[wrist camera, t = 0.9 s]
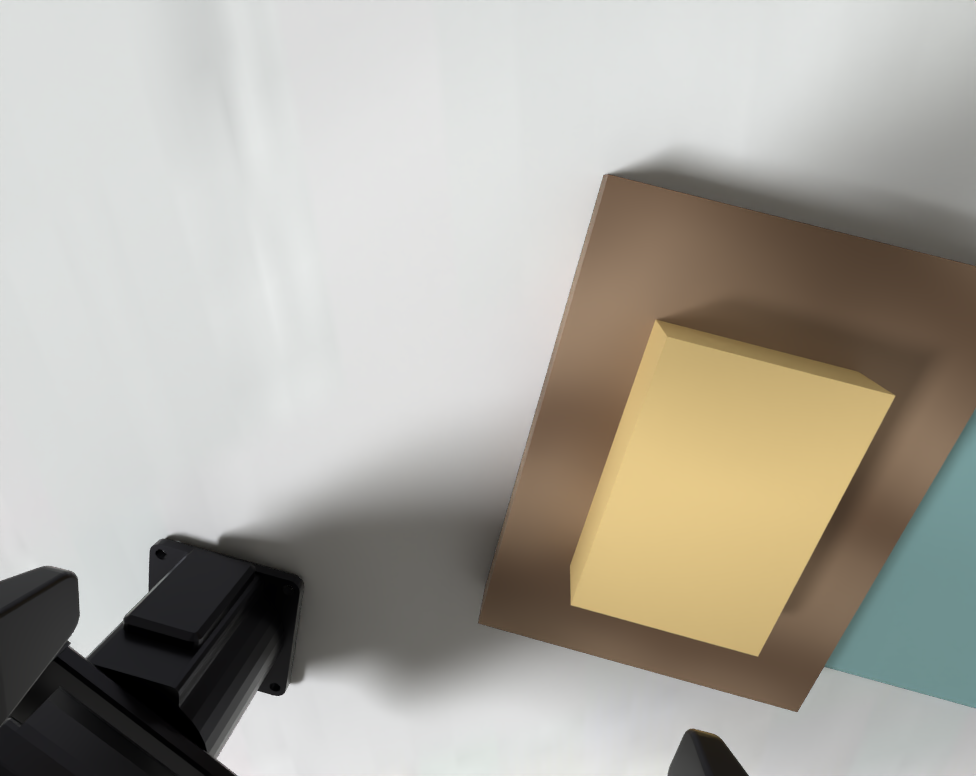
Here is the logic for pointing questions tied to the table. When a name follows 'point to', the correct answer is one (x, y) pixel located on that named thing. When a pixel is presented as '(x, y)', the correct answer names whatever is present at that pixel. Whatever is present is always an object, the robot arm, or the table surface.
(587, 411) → the brown slab
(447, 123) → the table surface
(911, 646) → the mat
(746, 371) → the tile
